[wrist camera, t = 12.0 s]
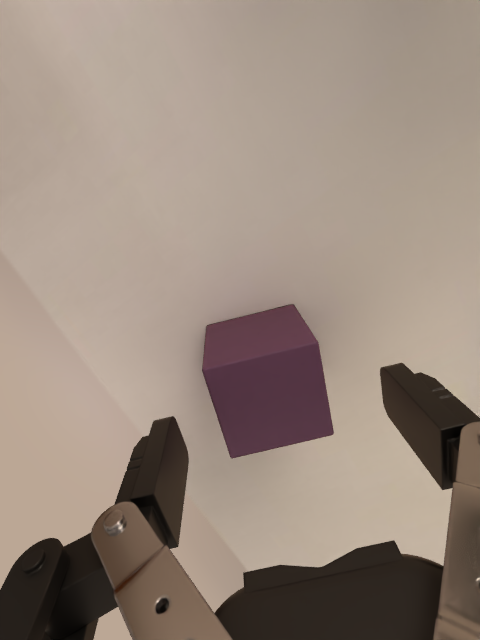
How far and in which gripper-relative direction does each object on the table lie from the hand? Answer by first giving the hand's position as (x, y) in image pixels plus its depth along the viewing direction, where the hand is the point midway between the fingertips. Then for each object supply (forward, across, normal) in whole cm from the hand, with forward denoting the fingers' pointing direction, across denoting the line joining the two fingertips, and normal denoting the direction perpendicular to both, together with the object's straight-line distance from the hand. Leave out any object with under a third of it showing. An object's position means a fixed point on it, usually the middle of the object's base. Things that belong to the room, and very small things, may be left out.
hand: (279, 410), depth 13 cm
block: (+5, 0, 0) cm, 5 cm away
